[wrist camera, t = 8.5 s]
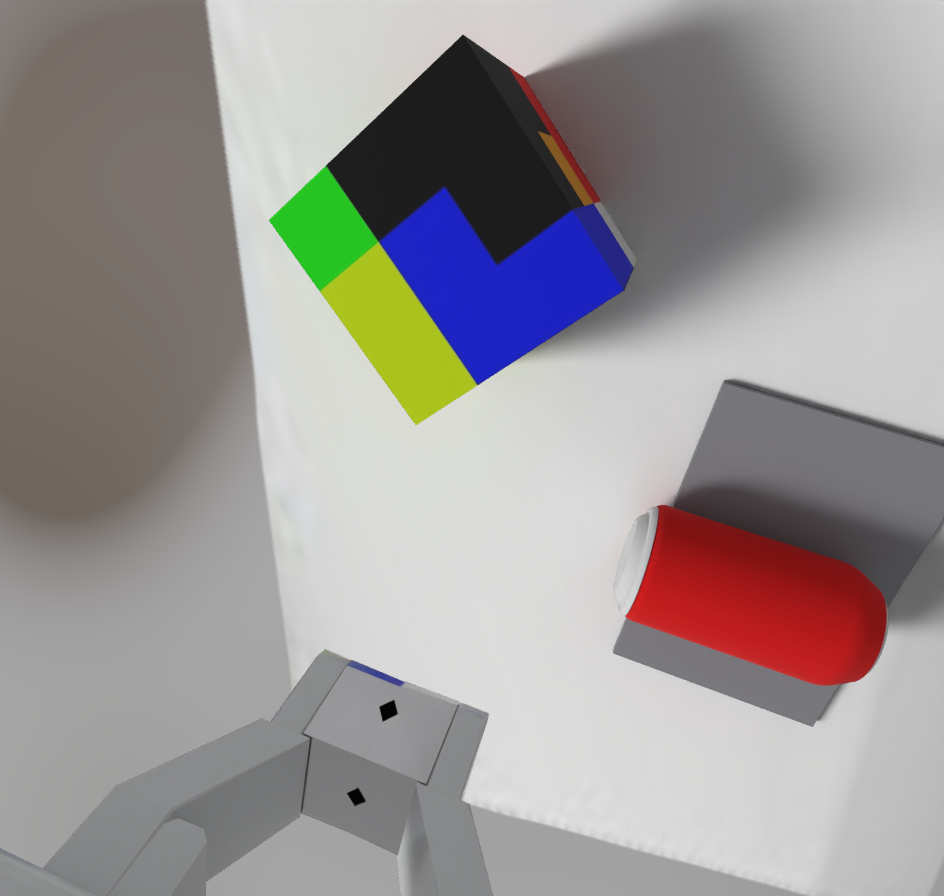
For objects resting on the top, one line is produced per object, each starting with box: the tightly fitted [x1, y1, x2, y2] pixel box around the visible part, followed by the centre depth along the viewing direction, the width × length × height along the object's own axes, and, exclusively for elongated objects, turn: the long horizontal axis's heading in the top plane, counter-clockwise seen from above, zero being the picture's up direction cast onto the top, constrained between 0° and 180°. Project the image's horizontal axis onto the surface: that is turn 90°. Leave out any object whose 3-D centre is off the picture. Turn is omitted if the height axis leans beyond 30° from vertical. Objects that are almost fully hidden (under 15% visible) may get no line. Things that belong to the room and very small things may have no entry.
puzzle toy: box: [269, 35, 637, 425], centre depth 29 cm, size 10×10×10 cm
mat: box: [613, 381, 944, 727], centre depth 36 cm, size 18×12×1 cm, turn 167°
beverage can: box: [613, 505, 888, 686], centre depth 33 cm, size 6×6×12 cm
